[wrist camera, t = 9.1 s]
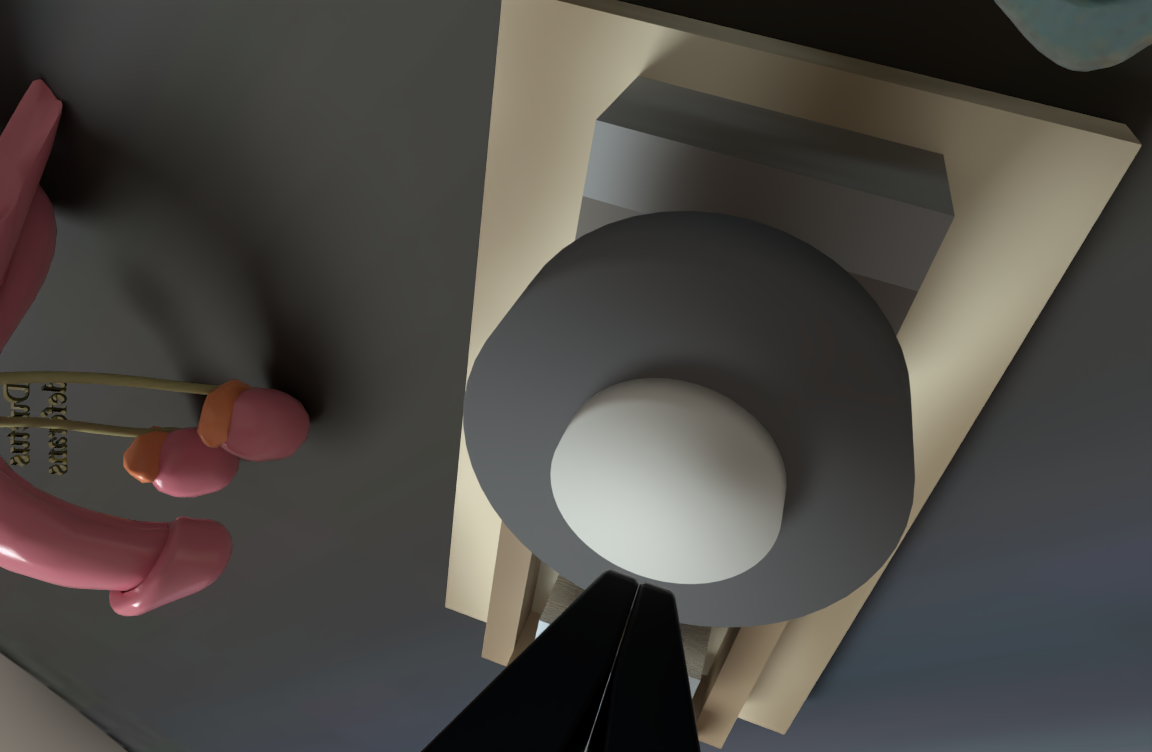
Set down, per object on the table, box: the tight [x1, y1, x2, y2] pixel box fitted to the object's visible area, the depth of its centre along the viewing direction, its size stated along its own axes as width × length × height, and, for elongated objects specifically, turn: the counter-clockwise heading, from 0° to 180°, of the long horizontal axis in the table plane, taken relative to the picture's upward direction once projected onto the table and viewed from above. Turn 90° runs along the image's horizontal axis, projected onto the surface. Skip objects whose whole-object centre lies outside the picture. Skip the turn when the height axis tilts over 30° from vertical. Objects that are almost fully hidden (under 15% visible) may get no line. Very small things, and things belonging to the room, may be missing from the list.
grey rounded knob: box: [463, 211, 915, 627], centre depth 13 cm, size 6×6×5 cm
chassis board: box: [445, 0, 1142, 749], centre depth 20 cm, size 12×20×4 cm, turn 170°
